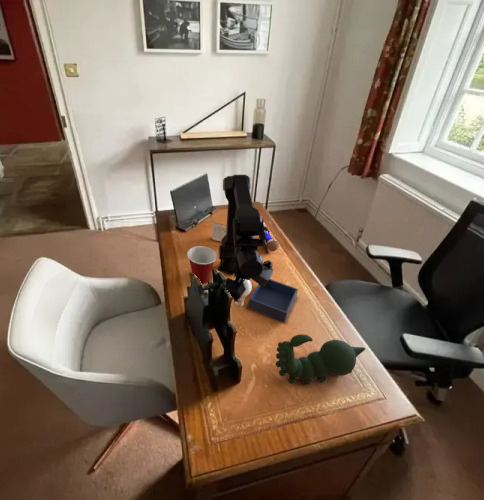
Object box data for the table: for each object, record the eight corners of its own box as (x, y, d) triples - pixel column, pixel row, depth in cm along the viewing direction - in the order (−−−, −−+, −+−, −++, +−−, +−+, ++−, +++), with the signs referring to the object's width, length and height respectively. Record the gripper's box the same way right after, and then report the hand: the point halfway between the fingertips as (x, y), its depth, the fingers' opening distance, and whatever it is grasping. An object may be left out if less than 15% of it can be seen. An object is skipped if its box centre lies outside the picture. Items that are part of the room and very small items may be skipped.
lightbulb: (228, 298, 103) (230, 272, 96) (247, 297, 104) (250, 271, 97) (230, 312, 98) (232, 286, 91) (250, 312, 98) (254, 285, 92)
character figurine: (267, 236, 147) (277, 256, 135) (252, 236, 145) (261, 256, 134) (270, 222, 142) (282, 241, 131) (255, 222, 141) (265, 241, 129)
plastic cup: (218, 286, 118) (220, 261, 111) (189, 290, 116) (189, 264, 109) (212, 268, 126) (213, 243, 119) (186, 271, 124) (185, 246, 117)
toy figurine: (281, 398, 85) (367, 380, 88) (287, 356, 74) (385, 337, 77) (270, 367, 93) (350, 352, 96) (274, 325, 82) (364, 309, 84)
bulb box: (248, 307, 110) (249, 298, 107) (261, 285, 119) (263, 276, 117) (284, 322, 105) (286, 313, 102) (295, 297, 114) (298, 288, 112)
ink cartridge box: (213, 236, 145) (214, 218, 139) (236, 242, 141) (238, 224, 136) (211, 239, 143) (212, 221, 137) (234, 245, 139) (236, 227, 134)
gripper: (259, 283, 79) (252, 325, 88) (282, 246, 93) (274, 285, 102) (219, 269, 83) (217, 310, 92) (247, 235, 97) (243, 274, 106)
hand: (240, 294), depth 98 cm, fingers closed on lightbulb, 6 cm apart
